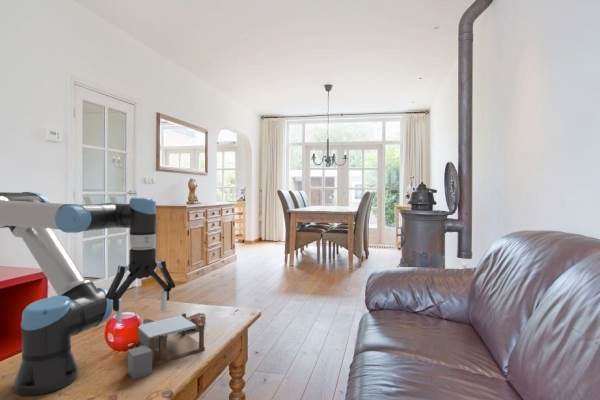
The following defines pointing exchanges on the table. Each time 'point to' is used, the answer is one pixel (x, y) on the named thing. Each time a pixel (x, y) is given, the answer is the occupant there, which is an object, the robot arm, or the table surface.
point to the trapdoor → (163, 329)
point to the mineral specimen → (197, 319)
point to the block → (139, 362)
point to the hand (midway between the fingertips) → (142, 315)
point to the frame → (174, 345)
